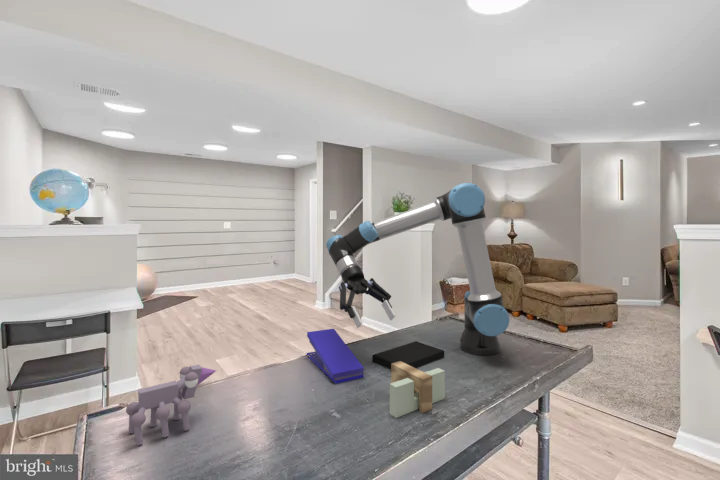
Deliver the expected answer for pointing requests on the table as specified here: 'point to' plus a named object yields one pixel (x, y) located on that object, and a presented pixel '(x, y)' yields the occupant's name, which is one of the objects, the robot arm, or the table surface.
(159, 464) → the table surface
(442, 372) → the green u-shaped block
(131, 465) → the table surface
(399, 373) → the tan wooden block
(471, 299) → the robot arm
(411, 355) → the external hard drive
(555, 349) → the table surface
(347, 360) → the blue foot pedal
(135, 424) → the grey toy animal figure
